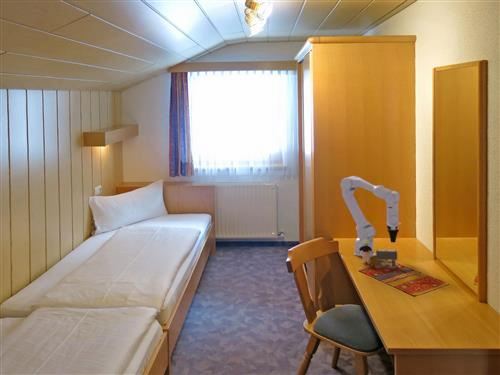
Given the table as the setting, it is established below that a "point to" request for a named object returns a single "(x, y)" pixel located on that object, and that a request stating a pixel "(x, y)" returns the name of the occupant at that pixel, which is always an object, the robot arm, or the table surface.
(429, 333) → the table surface
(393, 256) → the bar
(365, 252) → the grandmother figurine
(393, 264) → the stand
